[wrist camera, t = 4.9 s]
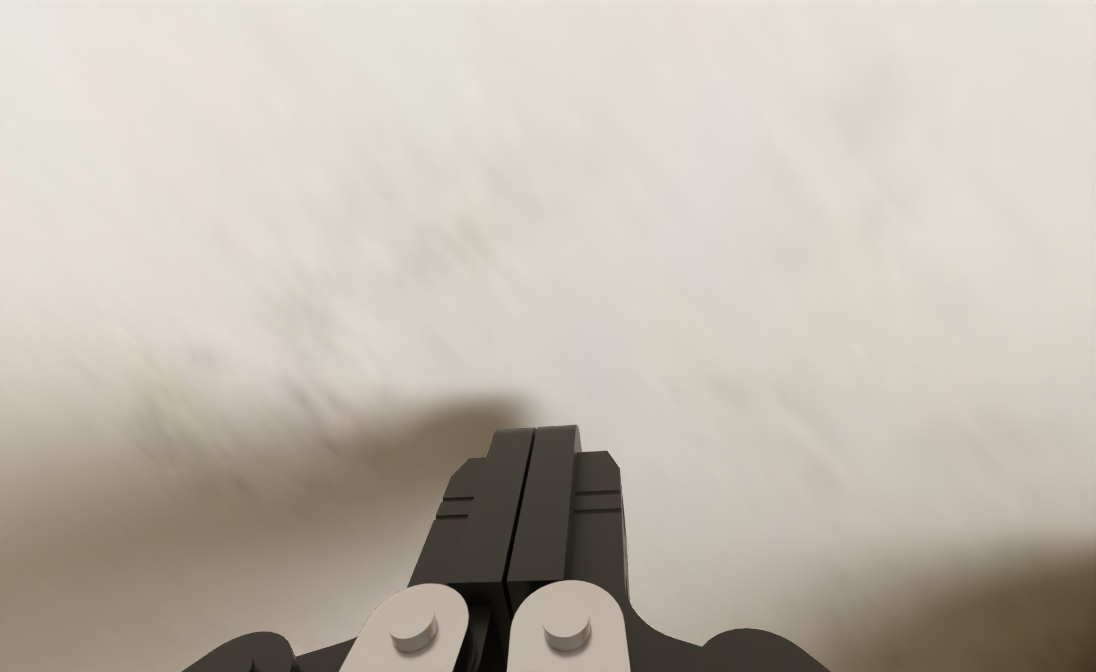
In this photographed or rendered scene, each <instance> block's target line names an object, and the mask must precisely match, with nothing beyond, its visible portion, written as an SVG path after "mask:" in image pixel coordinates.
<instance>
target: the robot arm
mask: <svg viewBox="0 0 1096 672" xmlns="http://www.w3.org/2000/svg"><path fill="white" fill-rule="evenodd" d="M182 672H830V671H829V670H828V669H826V668H825V667H824V666H823V665H821V664H820V663H819V662H818V661H816V660H815V659H814V658H813V657H811V656H810V655H809V654H807V653H806V652H805V651H804V650H802V649H801V648H800V647H798V646H797V645H795V644H794V643H792V642H791V641H789V640H787V639H785V638H783V637H781V636H779V635H776V634H773V633H771V632H767V631H763V630H758V629H748V628H745V629H734V630H730V631H726V632H723V633H721V634H718V635H716V636H715V637H713V638H712V639H710V640H709V641H708V642H707V643H706V644H705V645H704V646H703V647H701V646H697V645H694V644H691V643H687V642H684V641H681V640H677V639H674V638H672V637H669V636H666V635H664V634H662V633H660V632H658V631H656V630H655V629H653V628H652V627H650V626H649V625H648V624H646V623H645V622H644V621H643V620H642V619H641V618H640V617H639V616H638V615H637V613H636V612H635V611H634V609H633V608H632V606H631V604H630V598H629V581H628V561H627V540H626V528H625V517H624V507H623V497H622V486H621V476H620V468H619V467H618V465H617V464H616V462H615V461H614V460H613V458H612V457H611V456H610V454H609V453H608V451H596V452H582V450H581V442H580V434H579V429H578V426H577V425H566V426H549V427H538V428H537V429H536V428H519V429H503V430H496V432H495V434H494V437H493V440H492V443H491V446H490V449H489V452H488V455H487V458H471V459H468V460H467V461H466V462H465V464H464V465H463V466H462V467H461V468H460V469H459V470H458V471H457V472H456V473H455V474H454V475H453V476H452V477H451V479H450V481H449V484H448V486H447V489H446V491H445V494H444V496H443V502H441V504H440V507H439V509H438V512H437V514H436V520H434V522H433V524H432V527H431V529H430V532H429V534H428V537H427V539H426V542H425V544H424V547H423V549H422V552H421V554H420V557H419V559H418V562H417V564H416V567H415V569H414V572H413V574H412V577H411V579H410V582H409V584H408V587H407V588H406V589H404V590H402V591H399V592H397V593H396V594H394V595H392V596H391V597H389V598H388V599H386V600H385V601H384V602H382V603H381V604H380V605H379V606H378V607H377V608H376V609H375V610H374V611H373V613H372V614H371V615H370V616H369V618H368V619H367V621H366V622H365V624H364V626H363V628H362V629H361V631H360V633H359V635H358V637H356V638H354V639H351V640H348V641H345V642H343V643H339V644H336V645H333V646H330V647H326V648H323V649H320V650H317V651H313V652H310V653H307V654H304V655H300V656H297V657H295V655H294V653H293V650H292V648H291V646H290V644H289V642H288V641H287V640H286V639H285V638H284V637H283V636H281V635H279V634H276V633H272V632H255V633H250V634H246V635H243V636H240V637H237V638H235V639H232V640H230V641H228V642H226V643H224V644H223V645H221V646H219V647H218V648H216V649H214V650H213V651H211V652H210V653H208V654H207V655H205V656H204V657H203V658H201V659H200V660H198V661H197V662H195V663H194V664H192V665H191V666H189V667H188V668H186V669H185V670H183V671H182Z"/></svg>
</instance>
